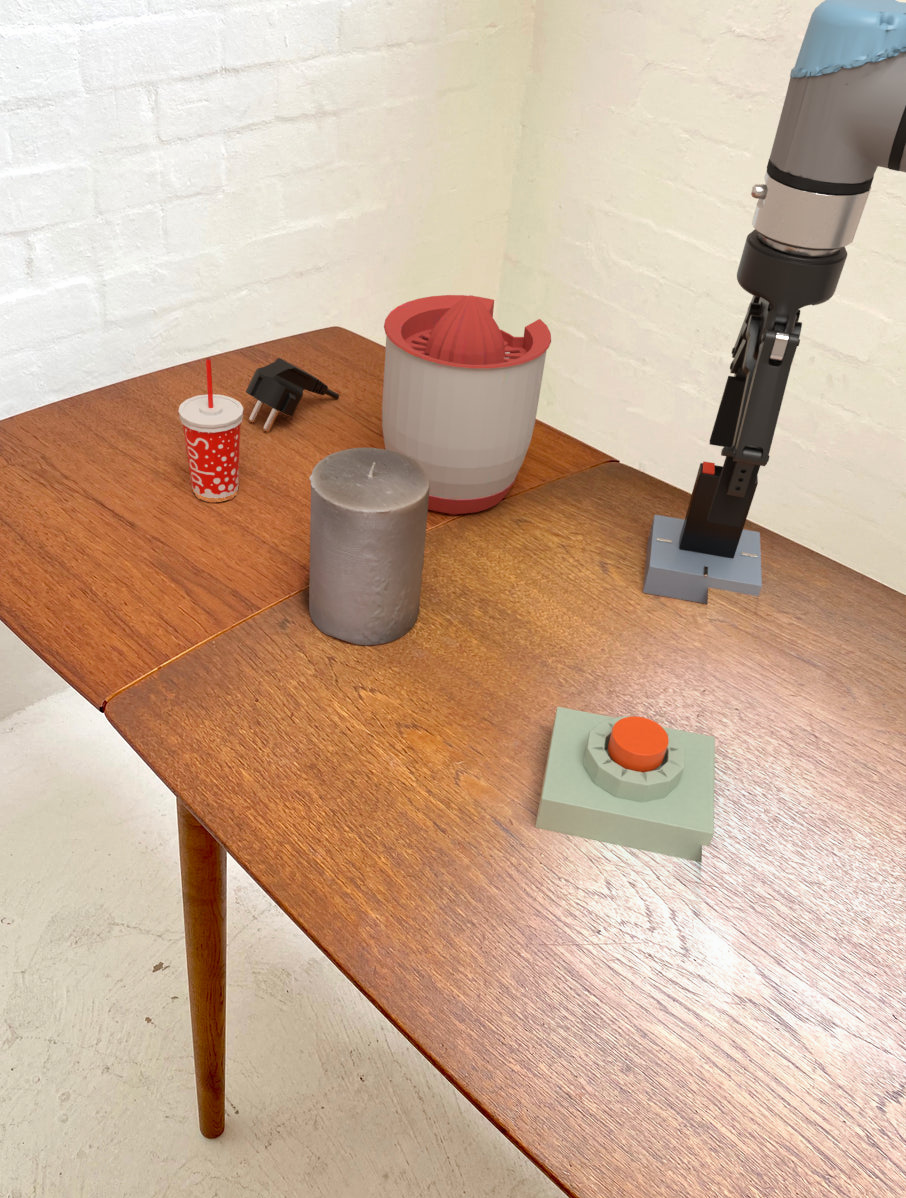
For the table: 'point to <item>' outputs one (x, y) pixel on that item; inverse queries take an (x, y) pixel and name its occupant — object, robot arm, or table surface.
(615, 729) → the orange push button
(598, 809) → the push button base
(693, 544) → the black lever red tip
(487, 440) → the citrus juicer
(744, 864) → the table surface
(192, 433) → the beverage cup
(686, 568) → the dial panel
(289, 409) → the power plug
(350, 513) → the pillar candle
